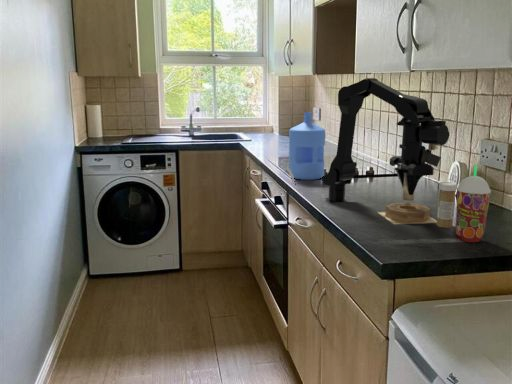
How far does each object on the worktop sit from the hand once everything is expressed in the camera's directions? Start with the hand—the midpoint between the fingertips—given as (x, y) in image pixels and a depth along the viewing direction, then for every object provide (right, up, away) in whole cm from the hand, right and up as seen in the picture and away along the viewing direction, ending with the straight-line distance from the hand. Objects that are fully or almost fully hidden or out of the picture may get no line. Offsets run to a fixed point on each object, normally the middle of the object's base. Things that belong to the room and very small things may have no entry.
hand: (408, 193), depth 154 cm
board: (0, -8, +2) cm, 8 cm away
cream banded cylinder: (0, -2, 0) cm, 2 cm away
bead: (0, -7, +1) cm, 7 cm away
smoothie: (+11, -12, -17) cm, 24 cm away
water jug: (-24, +7, +71) cm, 75 cm away
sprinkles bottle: (+8, -10, -7) cm, 15 cm away
